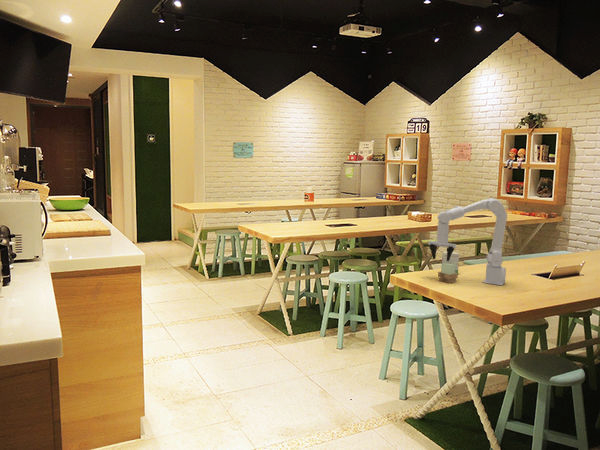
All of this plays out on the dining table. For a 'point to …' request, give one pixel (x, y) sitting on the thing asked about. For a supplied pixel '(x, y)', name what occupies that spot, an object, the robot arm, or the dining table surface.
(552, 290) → the dining table surface
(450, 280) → the bottom tile
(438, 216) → the robot arm
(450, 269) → the mint block
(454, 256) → the ink box
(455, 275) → the top tile
